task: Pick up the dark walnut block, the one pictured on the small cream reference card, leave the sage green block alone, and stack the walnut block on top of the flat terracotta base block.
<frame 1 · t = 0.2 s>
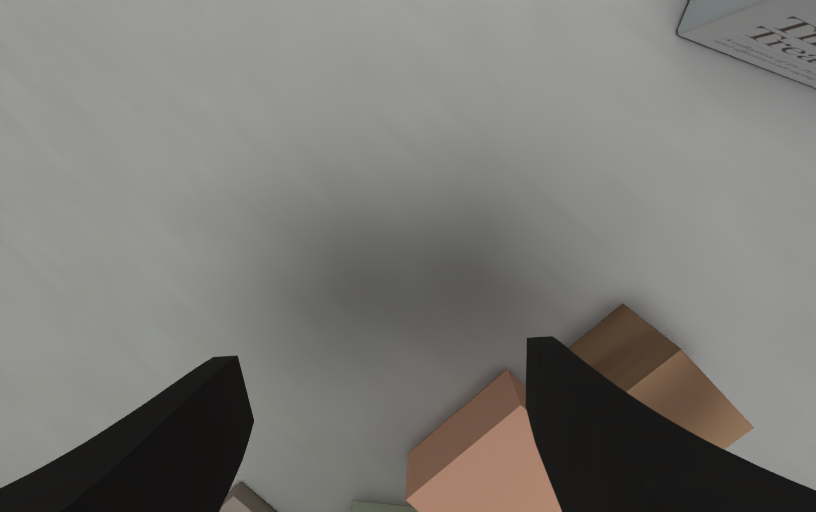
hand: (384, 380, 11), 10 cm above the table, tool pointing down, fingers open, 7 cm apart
base block: (501, 451, 24), on the table
walnut block: (614, 364, 22), on the table
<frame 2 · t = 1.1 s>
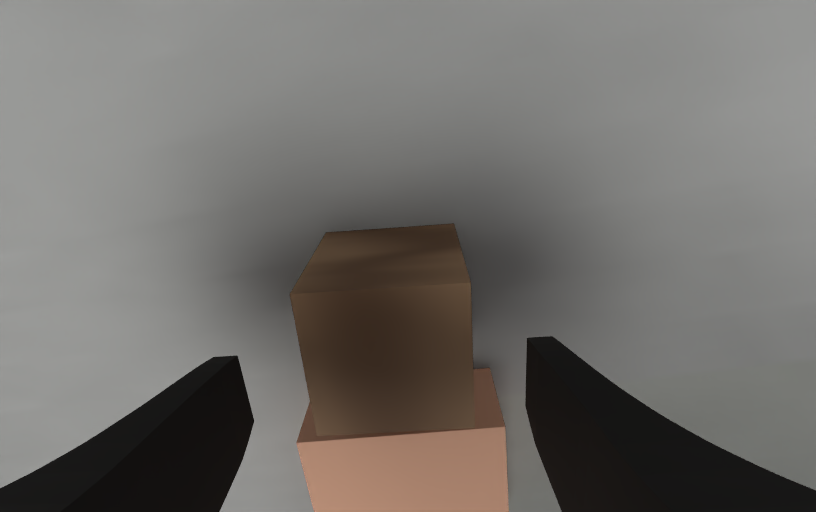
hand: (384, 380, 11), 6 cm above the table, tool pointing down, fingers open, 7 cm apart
base block: (411, 438, 19), on the table
walnut block: (395, 285, 16), on the table
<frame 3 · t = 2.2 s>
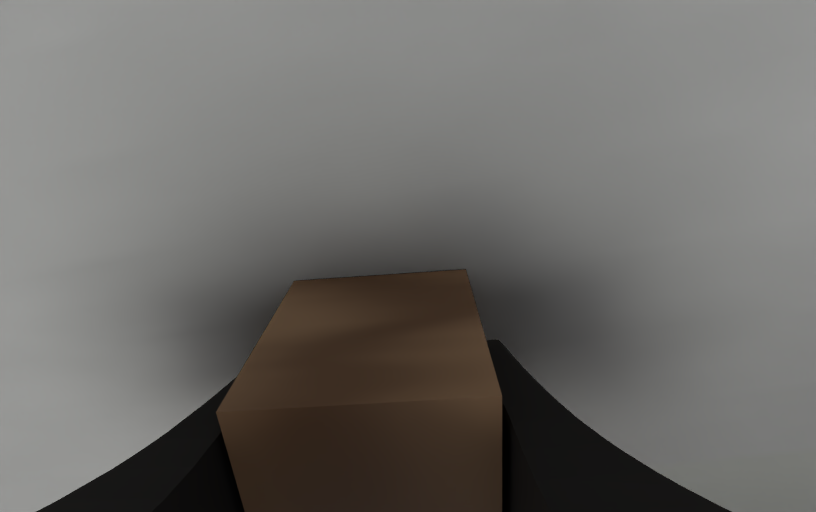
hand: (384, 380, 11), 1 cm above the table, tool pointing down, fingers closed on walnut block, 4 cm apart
walnut block: (387, 348, 12), on the table, touching gripper
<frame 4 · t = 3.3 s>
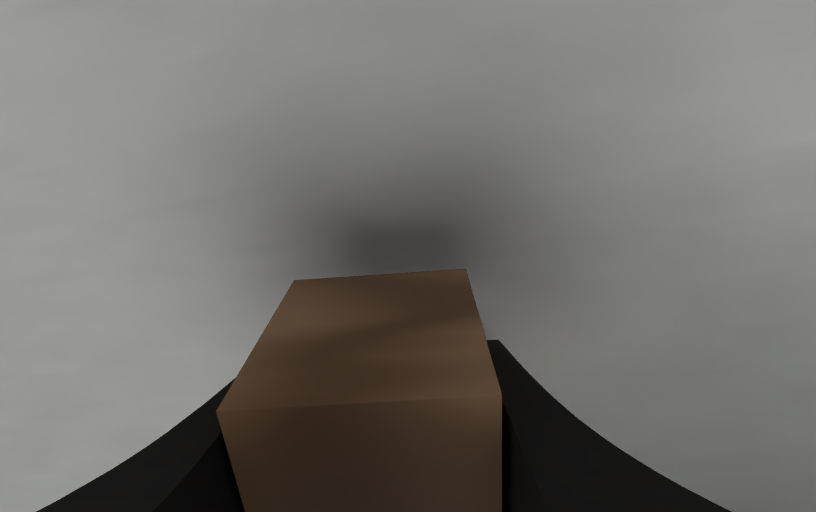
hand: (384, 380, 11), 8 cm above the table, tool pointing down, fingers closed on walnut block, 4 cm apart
walnut block: (387, 348, 12), point 7 cm above the table, touching gripper
when the fingers open (6 cm above the table, at t = 4.9 s): walnut block drops 1 cm, point 3 cm above the table.
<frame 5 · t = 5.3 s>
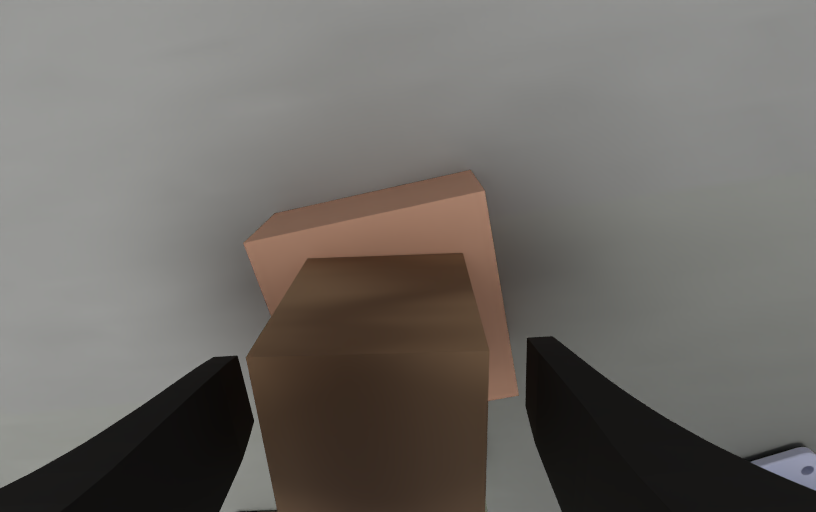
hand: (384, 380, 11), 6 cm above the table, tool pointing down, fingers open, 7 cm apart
base block: (394, 278, 17), on the table
walnut block: (389, 324, 14), point 3 cm above the table
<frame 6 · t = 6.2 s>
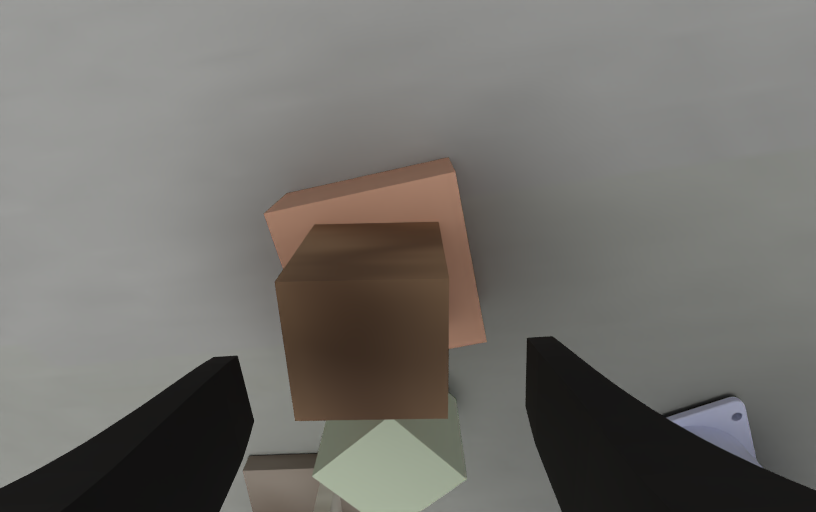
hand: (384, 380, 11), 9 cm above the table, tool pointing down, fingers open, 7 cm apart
base block: (386, 249, 20), on the table, touching walnut block
walnut block: (379, 279, 17), point 3 cm above the table, touching base block
sage block: (394, 397, 23), on the table
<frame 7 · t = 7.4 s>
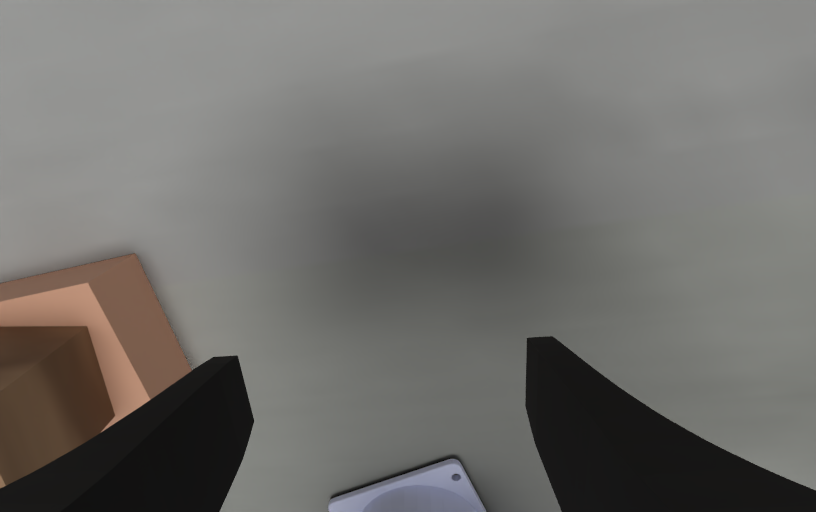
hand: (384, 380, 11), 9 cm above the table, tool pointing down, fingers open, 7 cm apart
base block: (105, 329, 22), on the table, touching walnut block
walnut block: (48, 373, 19), point 3 cm above the table, touching base block
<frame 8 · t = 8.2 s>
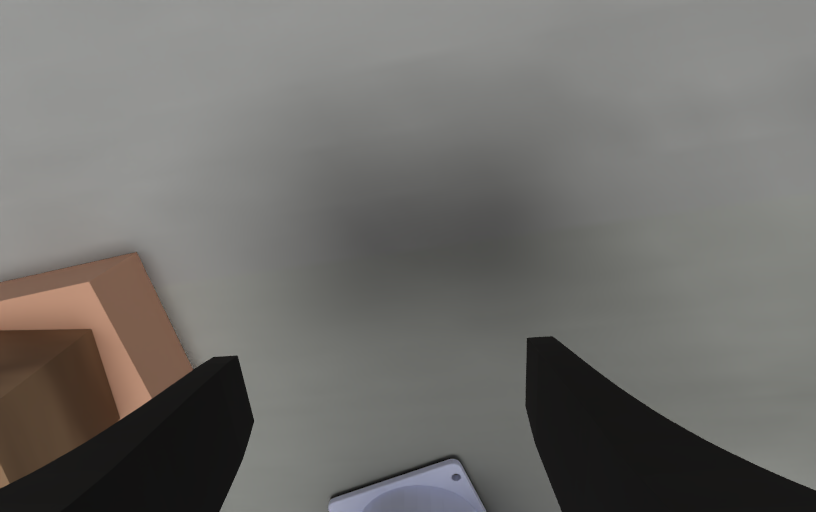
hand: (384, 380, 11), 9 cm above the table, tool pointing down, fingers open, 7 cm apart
base block: (106, 329, 22), on the table
walnut block: (53, 376, 19), point 3 cm above the table
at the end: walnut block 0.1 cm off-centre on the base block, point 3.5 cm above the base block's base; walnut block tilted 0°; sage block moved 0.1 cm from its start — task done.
